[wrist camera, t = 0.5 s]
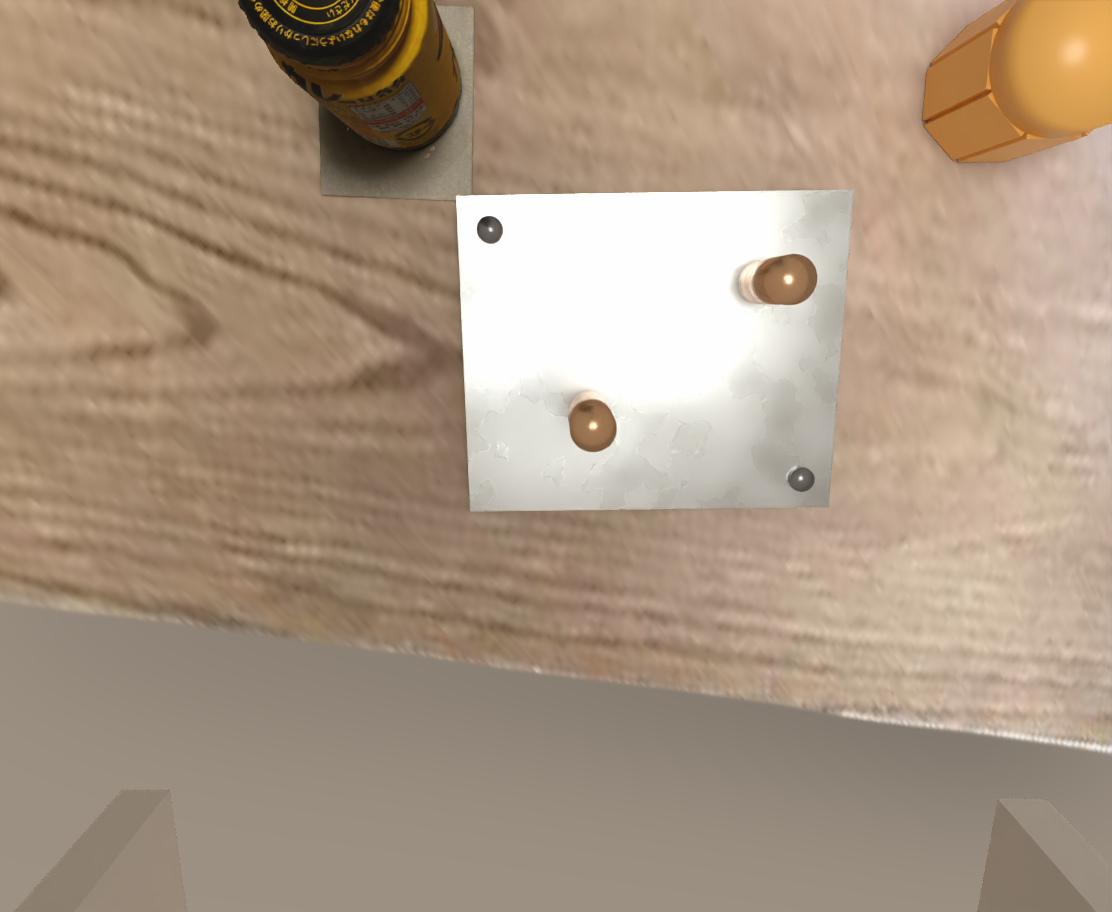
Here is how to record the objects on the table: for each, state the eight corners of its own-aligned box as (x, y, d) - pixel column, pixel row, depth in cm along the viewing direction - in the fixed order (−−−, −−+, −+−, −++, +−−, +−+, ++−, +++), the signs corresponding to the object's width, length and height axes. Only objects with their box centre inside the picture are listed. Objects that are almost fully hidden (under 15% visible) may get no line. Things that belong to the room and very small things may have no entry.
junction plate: (463, 203, 33) (438, 179, 27) (832, 197, 33) (902, 171, 26) (475, 497, 37) (457, 542, 30) (810, 493, 37) (867, 538, 30)
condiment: (474, 8, 32) (424, -163, 20) (472, 201, 33) (425, 150, 22) (316, 1, 32) (173, -174, 20) (323, 195, 33) (196, 141, 22)
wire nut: (931, 24, 32) (1034, -52, 25) (1062, 21, 31) (1200, -55, 25) (917, 163, 33) (1011, 127, 26) (1043, 161, 33) (1169, 125, 26)
